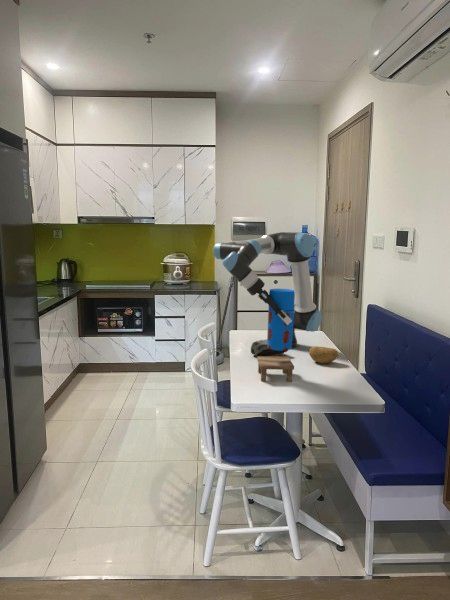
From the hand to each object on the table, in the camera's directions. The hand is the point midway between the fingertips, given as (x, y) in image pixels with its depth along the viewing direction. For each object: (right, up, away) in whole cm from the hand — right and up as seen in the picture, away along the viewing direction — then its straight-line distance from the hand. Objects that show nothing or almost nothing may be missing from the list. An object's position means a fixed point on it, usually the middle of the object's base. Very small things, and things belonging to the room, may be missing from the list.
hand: (287, 320), depth 186 cm
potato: (+21, -22, +26) cm, 40 cm away
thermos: (-3, -12, +2) cm, 13 cm away
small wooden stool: (-5, -25, +4) cm, 26 cm away
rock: (-4, -20, +35) cm, 41 cm away
